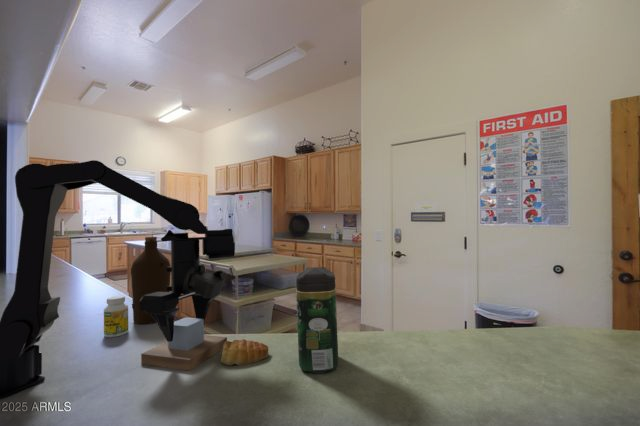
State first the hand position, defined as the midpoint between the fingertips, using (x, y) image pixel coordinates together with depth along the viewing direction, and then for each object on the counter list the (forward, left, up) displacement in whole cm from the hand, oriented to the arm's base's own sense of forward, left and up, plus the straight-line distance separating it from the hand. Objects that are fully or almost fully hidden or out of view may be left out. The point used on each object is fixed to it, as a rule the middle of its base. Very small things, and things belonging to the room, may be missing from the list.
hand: (186, 333), depth 65 cm
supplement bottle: (+6, +28, -5) cm, 29 cm away
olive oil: (+18, +29, -5) cm, 35 cm away
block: (0, 0, -2) cm, 2 cm away
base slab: (0, 0, -4) cm, 4 cm away
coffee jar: (+3, -29, -5) cm, 30 cm away
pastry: (+2, -13, -5) cm, 14 cm away
